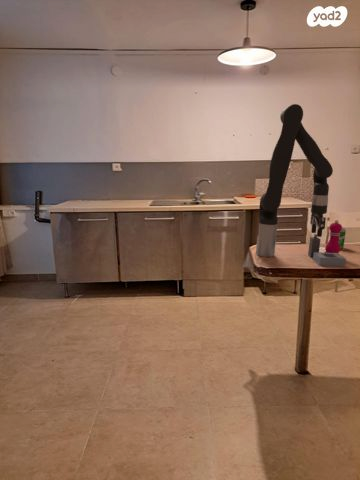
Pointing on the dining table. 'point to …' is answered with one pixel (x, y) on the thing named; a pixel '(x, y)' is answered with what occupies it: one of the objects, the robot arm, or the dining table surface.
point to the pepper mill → (334, 238)
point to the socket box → (329, 259)
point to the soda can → (342, 238)
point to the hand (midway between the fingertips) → (316, 234)
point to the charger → (313, 245)
